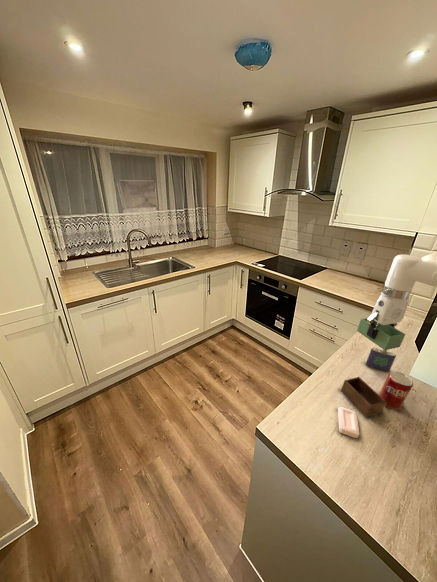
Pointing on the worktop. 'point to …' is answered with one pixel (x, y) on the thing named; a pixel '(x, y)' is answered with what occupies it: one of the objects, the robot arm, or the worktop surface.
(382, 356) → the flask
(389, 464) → the worktop surface
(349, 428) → the soap bar
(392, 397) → the soda can
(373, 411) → the walnut basket
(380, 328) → the green basket
